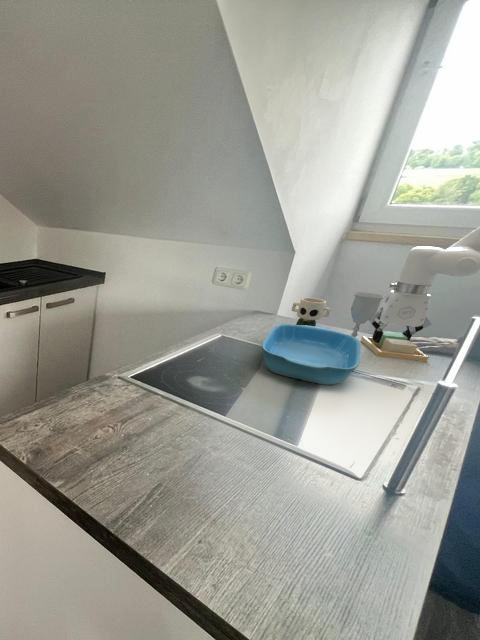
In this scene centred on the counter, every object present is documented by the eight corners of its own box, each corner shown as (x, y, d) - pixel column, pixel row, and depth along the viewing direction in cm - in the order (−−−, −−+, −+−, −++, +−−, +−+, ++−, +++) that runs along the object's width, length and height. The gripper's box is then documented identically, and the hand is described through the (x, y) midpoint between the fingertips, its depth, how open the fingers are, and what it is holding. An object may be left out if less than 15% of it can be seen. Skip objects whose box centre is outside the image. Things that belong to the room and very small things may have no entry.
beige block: (404, 352, 123) (410, 340, 121) (412, 358, 119) (417, 346, 117) (380, 349, 125) (385, 338, 123) (386, 355, 121) (391, 343, 119)
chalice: (357, 345, 130) (378, 293, 123) (367, 353, 124) (389, 298, 117) (331, 343, 132) (349, 291, 125) (340, 350, 126) (359, 297, 119)
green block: (396, 344, 128) (401, 332, 126) (403, 349, 124) (408, 337, 122) (373, 341, 130) (377, 330, 129) (378, 346, 126) (383, 335, 124)
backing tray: (404, 346, 129) (407, 340, 128) (426, 363, 116) (429, 357, 116) (360, 341, 133) (362, 336, 132) (376, 357, 121) (379, 351, 120)
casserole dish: (350, 398, 99) (360, 373, 96) (249, 374, 112) (256, 352, 109) (354, 354, 124) (362, 333, 121) (271, 338, 137) (277, 319, 134)
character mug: (282, 333, 142) (292, 299, 136) (287, 329, 146) (297, 295, 141) (318, 341, 134) (330, 305, 129) (323, 336, 138) (335, 301, 133)
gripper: (380, 289, 120) (359, 343, 127) (456, 294, 113) (429, 350, 120) (371, 283, 126) (351, 335, 133) (443, 288, 119) (418, 342, 126)
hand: (389, 342), depth 127 cm, fingers closed on green block, 6 cm apart
